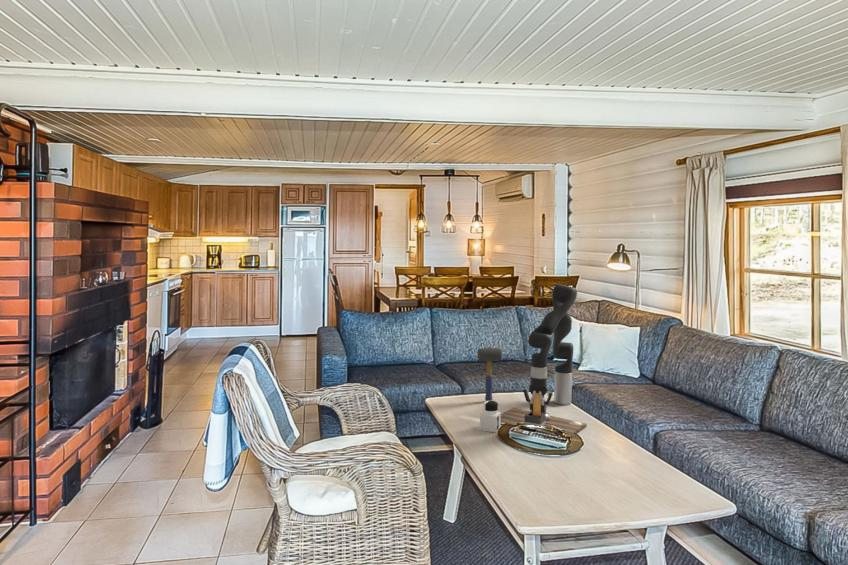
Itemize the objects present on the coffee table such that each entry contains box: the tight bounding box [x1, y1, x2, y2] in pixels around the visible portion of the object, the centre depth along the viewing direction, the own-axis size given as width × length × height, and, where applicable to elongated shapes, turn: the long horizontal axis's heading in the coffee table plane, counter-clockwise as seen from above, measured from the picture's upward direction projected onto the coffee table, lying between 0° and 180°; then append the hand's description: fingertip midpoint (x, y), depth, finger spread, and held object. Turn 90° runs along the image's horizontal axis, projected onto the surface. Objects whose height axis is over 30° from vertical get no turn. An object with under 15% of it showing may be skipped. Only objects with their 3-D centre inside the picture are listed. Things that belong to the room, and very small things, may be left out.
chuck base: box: [500, 407, 588, 436], centre depth 257 cm, size 24×39×2 cm, turn 52°
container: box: [479, 400, 502, 433], centre depth 250 cm, size 8×8×13 cm
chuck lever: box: [524, 405, 551, 427], centre depth 255 cm, size 19×8×7 cm, turn 149°
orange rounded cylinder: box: [533, 393, 542, 417], centre depth 249 cm, size 4×4×13 cm
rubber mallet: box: [477, 347, 503, 401], centre depth 292 cm, size 12×8×30 cm, turn 97°
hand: (537, 411), depth 250 cm, fingers closed on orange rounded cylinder, 4 cm apart
